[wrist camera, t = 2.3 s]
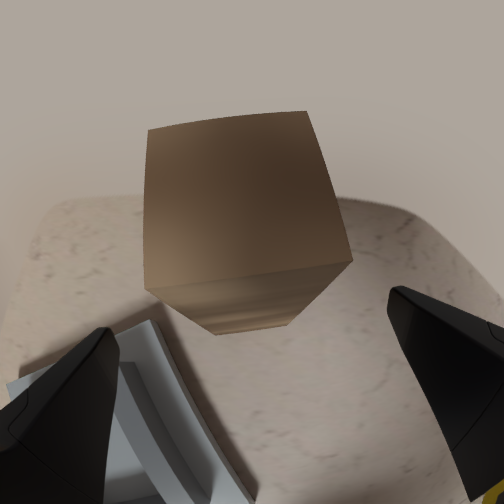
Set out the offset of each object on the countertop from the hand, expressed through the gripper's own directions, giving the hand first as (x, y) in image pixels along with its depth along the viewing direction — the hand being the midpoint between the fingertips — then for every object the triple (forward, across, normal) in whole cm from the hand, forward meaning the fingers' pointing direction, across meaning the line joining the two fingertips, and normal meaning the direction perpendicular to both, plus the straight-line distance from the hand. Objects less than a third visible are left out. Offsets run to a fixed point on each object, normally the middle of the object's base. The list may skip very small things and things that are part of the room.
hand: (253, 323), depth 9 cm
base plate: (+2, +10, +12) cm, 16 cm away
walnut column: (+9, 0, +5) cm, 10 cm away
